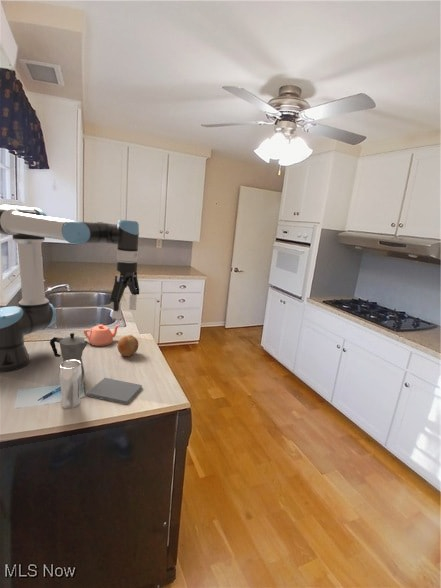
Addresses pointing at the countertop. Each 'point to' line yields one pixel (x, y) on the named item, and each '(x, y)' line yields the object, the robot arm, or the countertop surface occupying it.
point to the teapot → (100, 335)
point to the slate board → (114, 390)
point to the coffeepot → (70, 348)
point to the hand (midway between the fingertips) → (125, 313)
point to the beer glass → (70, 383)
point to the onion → (127, 345)
